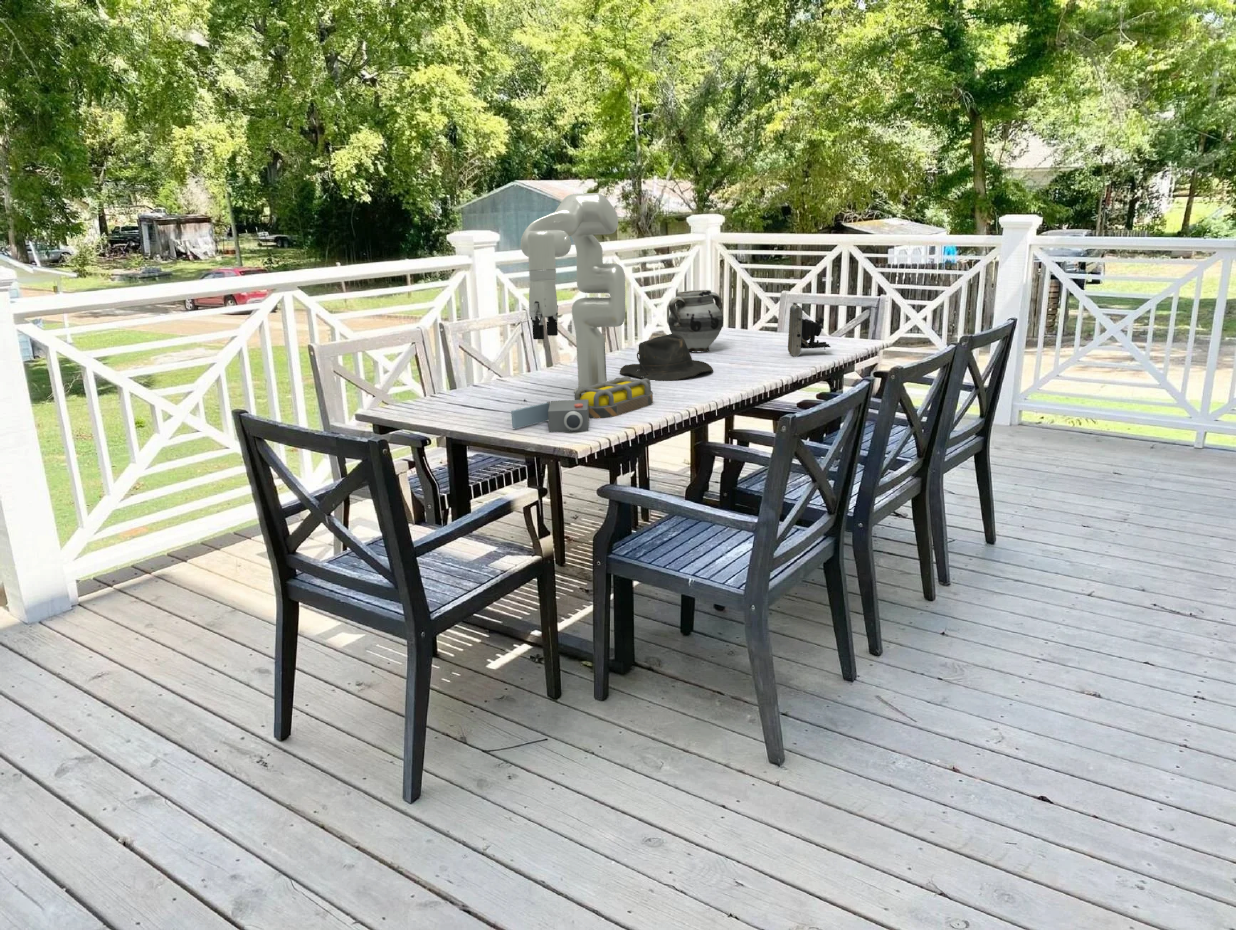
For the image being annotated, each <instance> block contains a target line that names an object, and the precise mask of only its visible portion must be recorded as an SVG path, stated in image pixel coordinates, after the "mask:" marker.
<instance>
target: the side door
mask: <svg viewBox="0 0 1236 930" xmlns="http://www.w3.org/2000/svg"><path fill="white" fill-rule="evenodd" d="M550 403H551V401H546V402H543V403H539V404H534V405H530V406H527V407H522V408H517V409H513V410H510V414H511V427H512V429H518V428H522V427H527V426H530V425H531V426H532V425H534V424H539V423H542V422H546V421H549V420H548V410H549V406H550Z"/></svg>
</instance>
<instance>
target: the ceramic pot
mask: <svg viewBox="0 0 1236 930" xmlns="http://www.w3.org/2000/svg"><path fill="white" fill-rule="evenodd" d="M668 302H669V303H668V309H669V315H668V319H667V321H668V323H667V324H668V328H669V331H670V334H673V333H675V334H679V335H680V336H681V337H683V338H684V340H685V342H686V345H687V348H688V350H689V351H706V352H708V351H709V350H710V347H711V345H712V344H713V343H714V342H715V341H716V340H717V338H718V337H719V335H720V333H721V331H722V329H723V326H724V317H723V315H724V314H723V313H722V311H721V309H722V300H721V296H720V294H718V293H717V292H716V291H715V292H712V290H711V289H696V290H685V291H679V292H676V296H675V297H673V298H671V300H670V301H668ZM707 350H708V351H707Z"/></svg>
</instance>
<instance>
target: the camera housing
mask: <svg viewBox="0 0 1236 930" xmlns="http://www.w3.org/2000/svg"><path fill="white" fill-rule="evenodd" d="M547 421H548V432H549V433H560V432H561V433H564V432H565V433H566V432H585V431H586V432H588V431H589V428H590V426H589V424H590V418H589V404H588V399H586V400H575V399H569V400H568V399H565V400H550V406H549V410H548V420H547Z"/></svg>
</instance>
